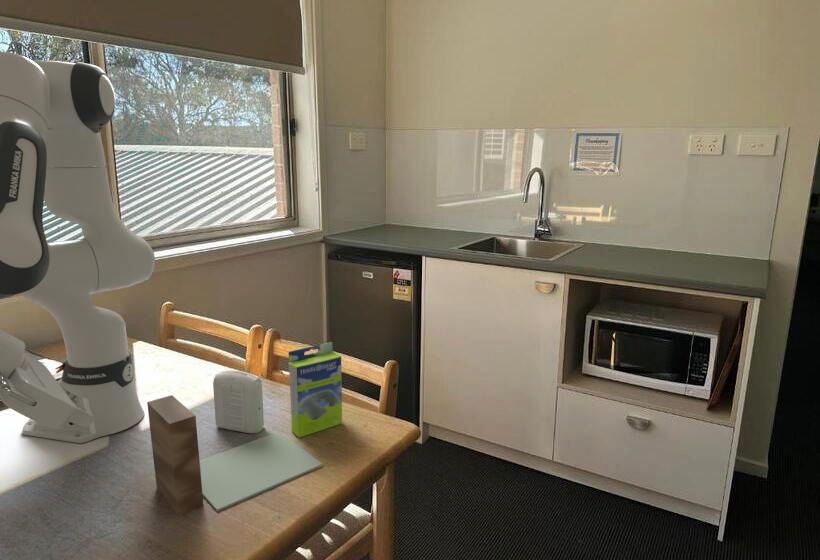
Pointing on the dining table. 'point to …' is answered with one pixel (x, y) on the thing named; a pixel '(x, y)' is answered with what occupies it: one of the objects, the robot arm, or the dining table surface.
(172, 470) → the walnut block
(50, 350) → the dining table surface
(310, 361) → the box
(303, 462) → the mat
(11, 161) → the robot arm
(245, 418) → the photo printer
